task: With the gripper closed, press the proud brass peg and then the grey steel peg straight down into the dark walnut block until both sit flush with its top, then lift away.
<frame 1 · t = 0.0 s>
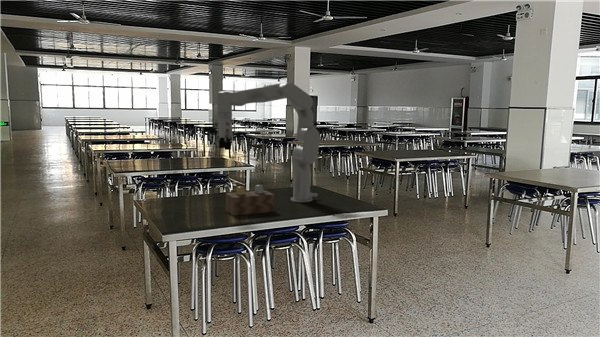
hand: (224, 148, 238), 31 cm above the table, fingers open, 9 cm apart
steel peg: (259, 193, 236), point 9 cm above the table, slide at 0.0 cm
brass peg: (240, 194, 232), point 9 cm above the table, slide at 0.0 cm
walnut block: (250, 211, 235), on the table
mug: (239, 203, 252), on the table
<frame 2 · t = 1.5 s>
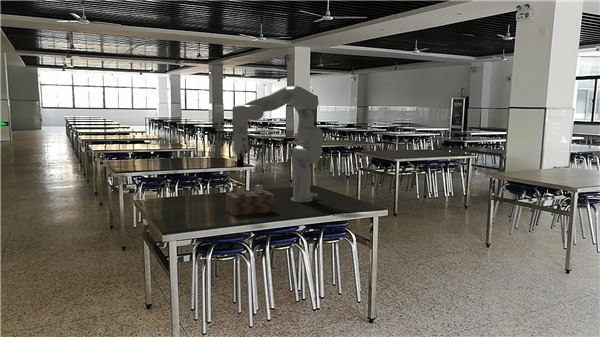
hand: (240, 167, 230), 23 cm above the table, fingers closed
nothing on the table moved.
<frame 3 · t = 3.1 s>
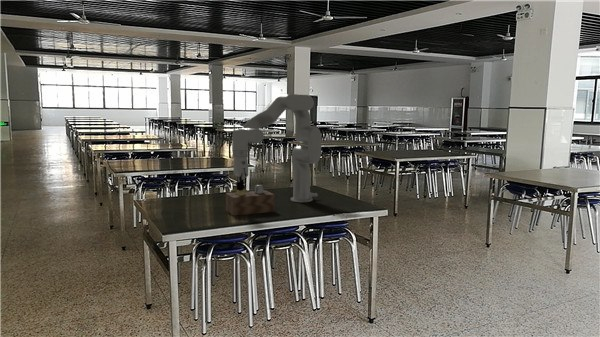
hand: (240, 189, 231), 12 cm above the table, fingers closed
brass peg: (240, 197, 232), point 7 cm above the table, slide at -1.6 cm, touching gripper
everything else where it was.
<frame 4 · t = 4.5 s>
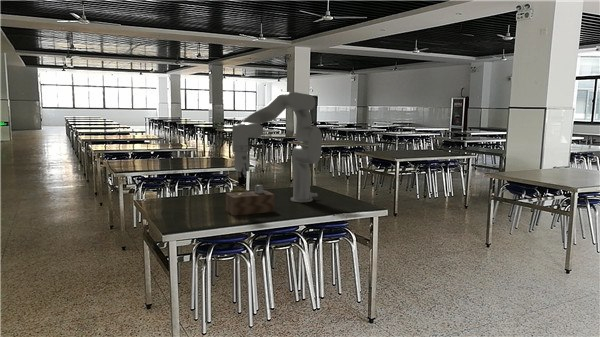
hand: (241, 184, 231), 14 cm above the table, fingers closed
brass peg: (240, 201, 232), point 5 cm above the table, slide at -3.7 cm
everything else where it was.
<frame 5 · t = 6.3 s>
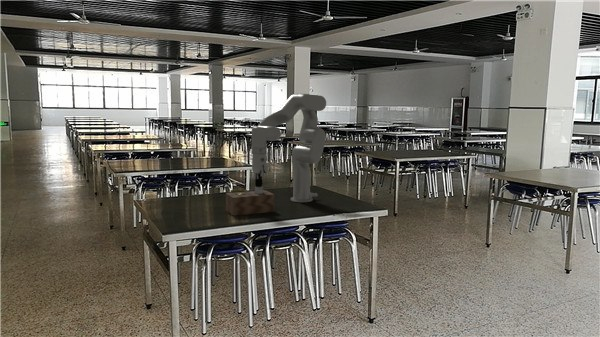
hand: (258, 186, 235), 13 cm above the table, fingers closed
steel peg: (259, 194, 236), point 8 cm above the table, slide at -0.5 cm, touching gripper
everything else where it was.
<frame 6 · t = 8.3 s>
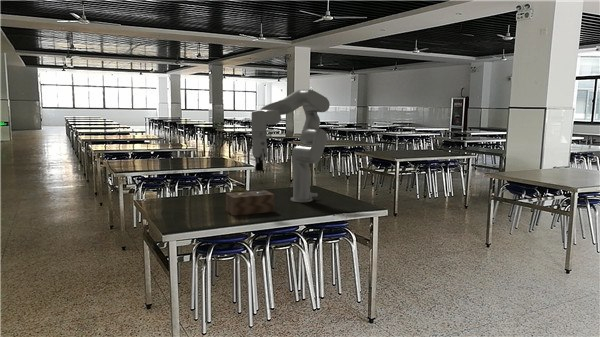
hand: (259, 170, 234), 21 cm above the table, fingers closed
steel peg: (259, 200, 236), point 5 cm above the table, slide at -3.7 cm
everything else where it was.
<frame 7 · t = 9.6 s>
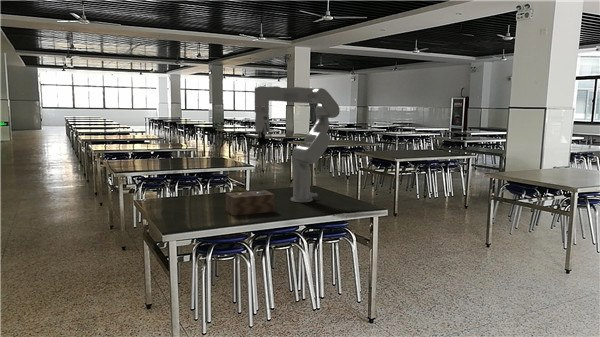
hand: (261, 144, 243), 33 cm above the table, fingers closed
nothing on the table moved.
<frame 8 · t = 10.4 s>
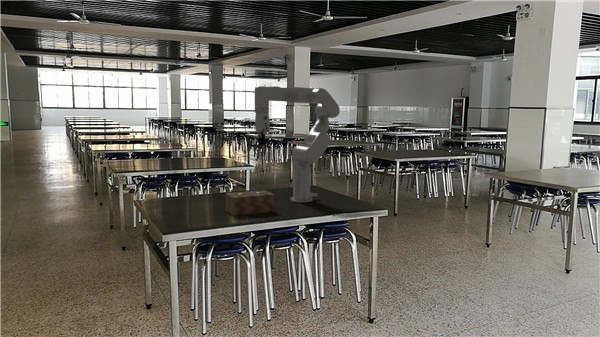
hand: (261, 144, 243), 33 cm above the table, fingers closed
nothing on the table moved.
at the end: brass peg slide at -3.7 cm; steel peg slide at -3.7 cm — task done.
